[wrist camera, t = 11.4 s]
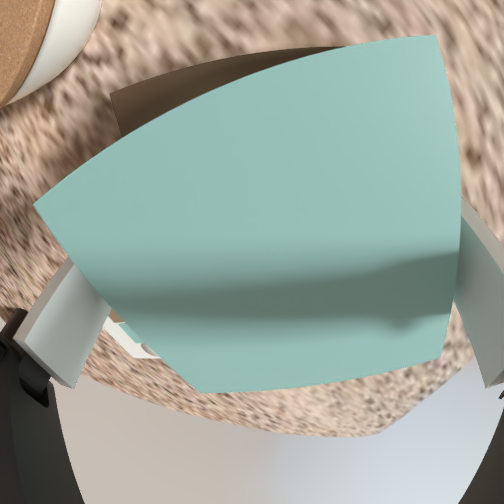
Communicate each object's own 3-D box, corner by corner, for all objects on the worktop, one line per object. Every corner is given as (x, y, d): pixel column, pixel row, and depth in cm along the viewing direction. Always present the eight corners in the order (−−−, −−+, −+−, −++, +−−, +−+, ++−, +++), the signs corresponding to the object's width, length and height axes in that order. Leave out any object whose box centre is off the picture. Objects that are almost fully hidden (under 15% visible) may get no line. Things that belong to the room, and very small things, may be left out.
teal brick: (120, 139, 11) (32, 204, 7) (362, 43, 8) (435, 34, 3) (221, 304, 17) (200, 392, 13) (406, 262, 14) (440, 357, 9)
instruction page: (66, 281, 27) (64, 283, 26) (126, 266, 24) (124, 268, 23) (134, 356, 34) (133, 358, 34) (197, 356, 31) (196, 358, 31)
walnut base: (154, 80, 14) (109, 93, 10) (381, 51, 11) (418, 51, 8) (205, 254, 22) (187, 303, 18) (381, 243, 19) (399, 293, 15)
